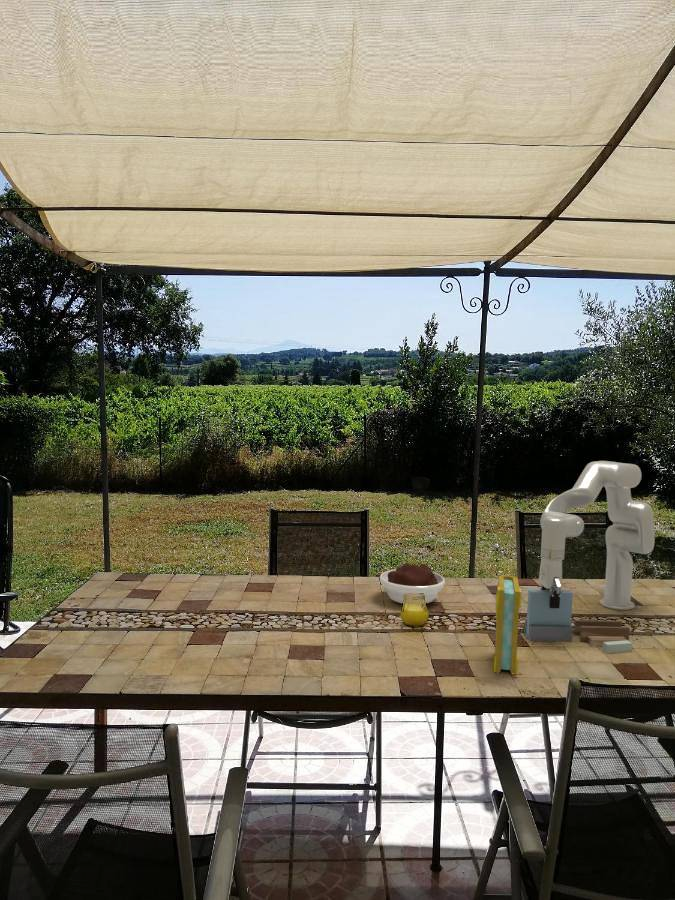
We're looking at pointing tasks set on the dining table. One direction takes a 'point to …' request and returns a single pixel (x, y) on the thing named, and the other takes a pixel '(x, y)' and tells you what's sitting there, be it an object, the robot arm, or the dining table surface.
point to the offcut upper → (617, 646)
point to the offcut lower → (602, 640)
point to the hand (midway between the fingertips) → (549, 603)
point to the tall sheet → (548, 609)
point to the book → (507, 623)
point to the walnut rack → (599, 629)
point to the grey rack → (549, 633)
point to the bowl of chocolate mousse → (411, 582)
